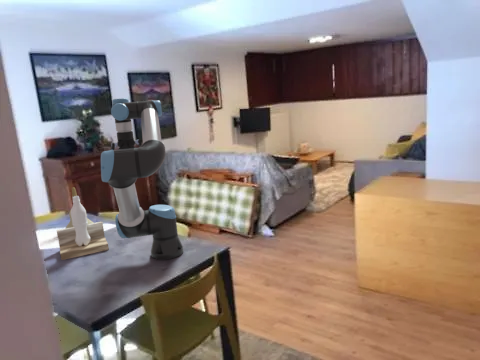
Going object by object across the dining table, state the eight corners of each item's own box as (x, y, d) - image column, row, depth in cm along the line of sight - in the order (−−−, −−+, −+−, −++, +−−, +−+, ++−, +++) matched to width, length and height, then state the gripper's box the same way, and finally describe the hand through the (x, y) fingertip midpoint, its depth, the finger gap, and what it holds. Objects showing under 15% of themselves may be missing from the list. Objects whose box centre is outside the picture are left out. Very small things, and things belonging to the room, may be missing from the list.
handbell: (67, 226, 246) (60, 186, 240) (94, 222, 250) (87, 182, 244) (65, 234, 231) (57, 192, 226) (93, 230, 236) (86, 188, 230)
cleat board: (108, 249, 205) (105, 228, 202) (61, 260, 196) (57, 238, 193) (105, 241, 217) (102, 221, 215) (60, 250, 208) (56, 230, 206)
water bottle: (75, 248, 202) (66, 199, 196) (76, 243, 208) (68, 195, 203) (90, 245, 203) (82, 197, 198) (91, 240, 210) (84, 193, 204)
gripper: (148, 127, 205) (153, 169, 209) (96, 133, 194) (102, 177, 198) (152, 128, 198) (157, 171, 203) (98, 134, 187) (105, 179, 192)
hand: (130, 174), depth 201 cm, fingers open, 13 cm apart
